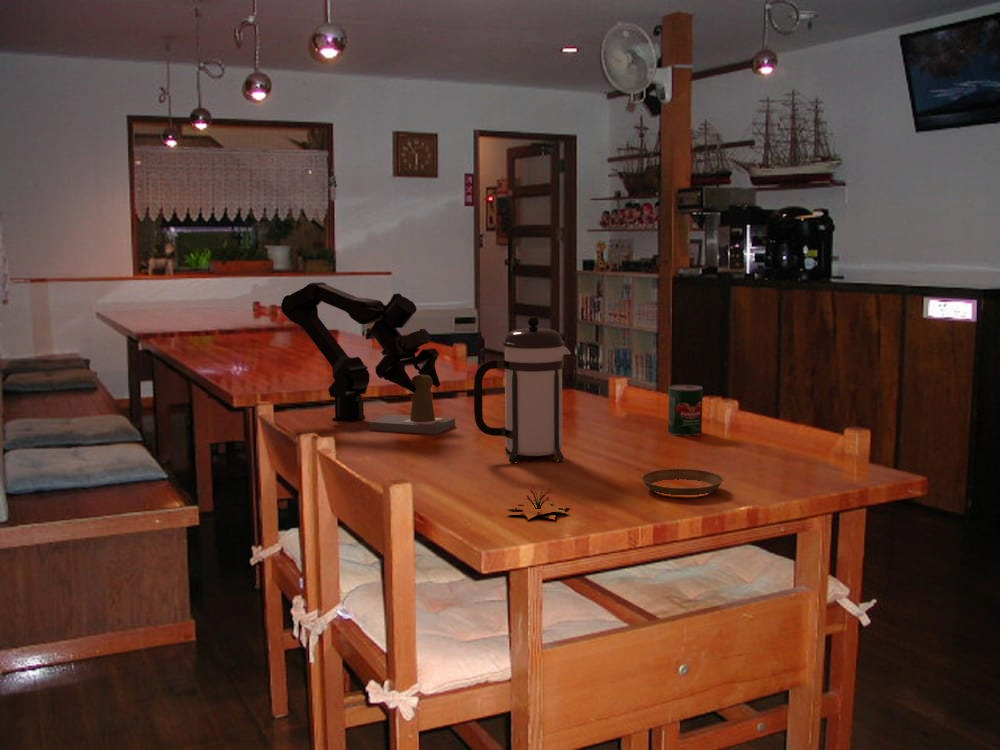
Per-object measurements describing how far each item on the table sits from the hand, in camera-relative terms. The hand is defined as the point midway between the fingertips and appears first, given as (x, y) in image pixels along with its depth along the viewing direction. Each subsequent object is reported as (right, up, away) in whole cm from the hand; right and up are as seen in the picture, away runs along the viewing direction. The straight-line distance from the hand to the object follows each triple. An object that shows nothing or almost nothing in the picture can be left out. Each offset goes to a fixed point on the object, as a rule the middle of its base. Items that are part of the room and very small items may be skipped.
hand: (427, 388), depth 244 cm
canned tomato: (+61, -11, -6) cm, 63 cm away
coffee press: (+24, -14, -30) cm, 41 cm away
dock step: (-4, -10, +3) cm, 11 cm away
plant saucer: (+51, -18, -58) cm, 80 cm away
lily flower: (+24, -21, -72) cm, 79 cm away
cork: (-1, -8, +2) cm, 8 cm away
